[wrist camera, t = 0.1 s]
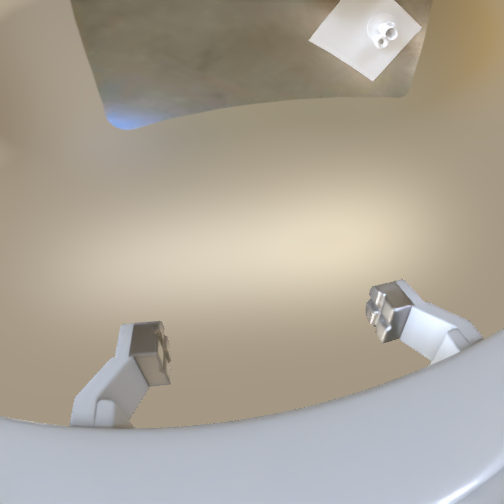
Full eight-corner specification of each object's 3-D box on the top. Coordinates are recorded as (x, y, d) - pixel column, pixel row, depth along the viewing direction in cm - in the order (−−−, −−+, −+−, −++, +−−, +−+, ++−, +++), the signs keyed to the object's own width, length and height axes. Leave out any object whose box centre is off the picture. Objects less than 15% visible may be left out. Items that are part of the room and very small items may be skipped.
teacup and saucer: (380, 50, 50) (390, 58, 48) (357, 32, 46) (366, 39, 44) (403, 26, 44) (413, 32, 42) (380, 5, 40) (390, 11, 38)
